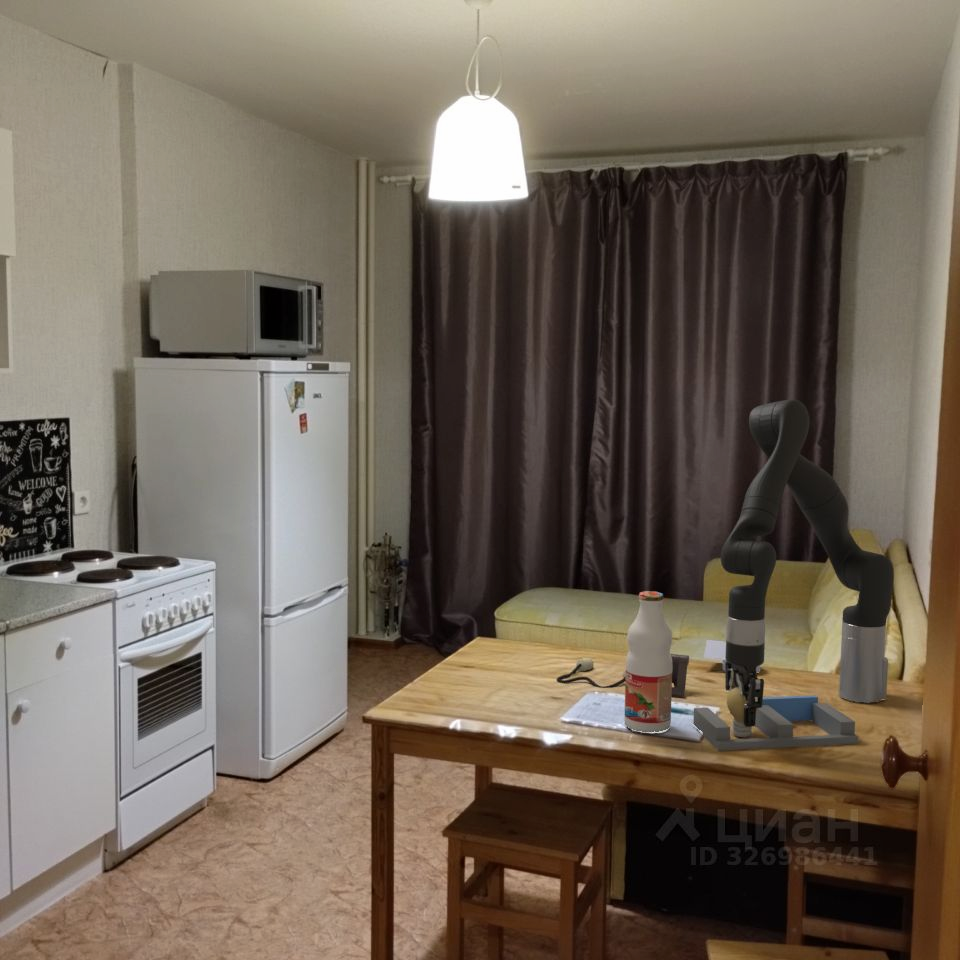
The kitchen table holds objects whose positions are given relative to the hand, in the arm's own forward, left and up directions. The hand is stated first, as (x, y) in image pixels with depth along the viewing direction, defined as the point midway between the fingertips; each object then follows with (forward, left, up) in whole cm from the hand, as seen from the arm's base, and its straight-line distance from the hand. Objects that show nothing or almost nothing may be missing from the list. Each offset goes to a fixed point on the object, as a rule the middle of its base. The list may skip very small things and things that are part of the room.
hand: (742, 719), depth 211 cm
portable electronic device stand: (+5, -30, -4) cm, 31 cm away
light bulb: (0, 0, -3) cm, 3 cm away
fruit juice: (+17, -7, -3) cm, 19 cm away
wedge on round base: (-17, -45, -3) cm, 48 cm away
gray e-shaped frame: (-7, 0, -3) cm, 7 cm away
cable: (+18, -41, -4) cm, 45 cm away
